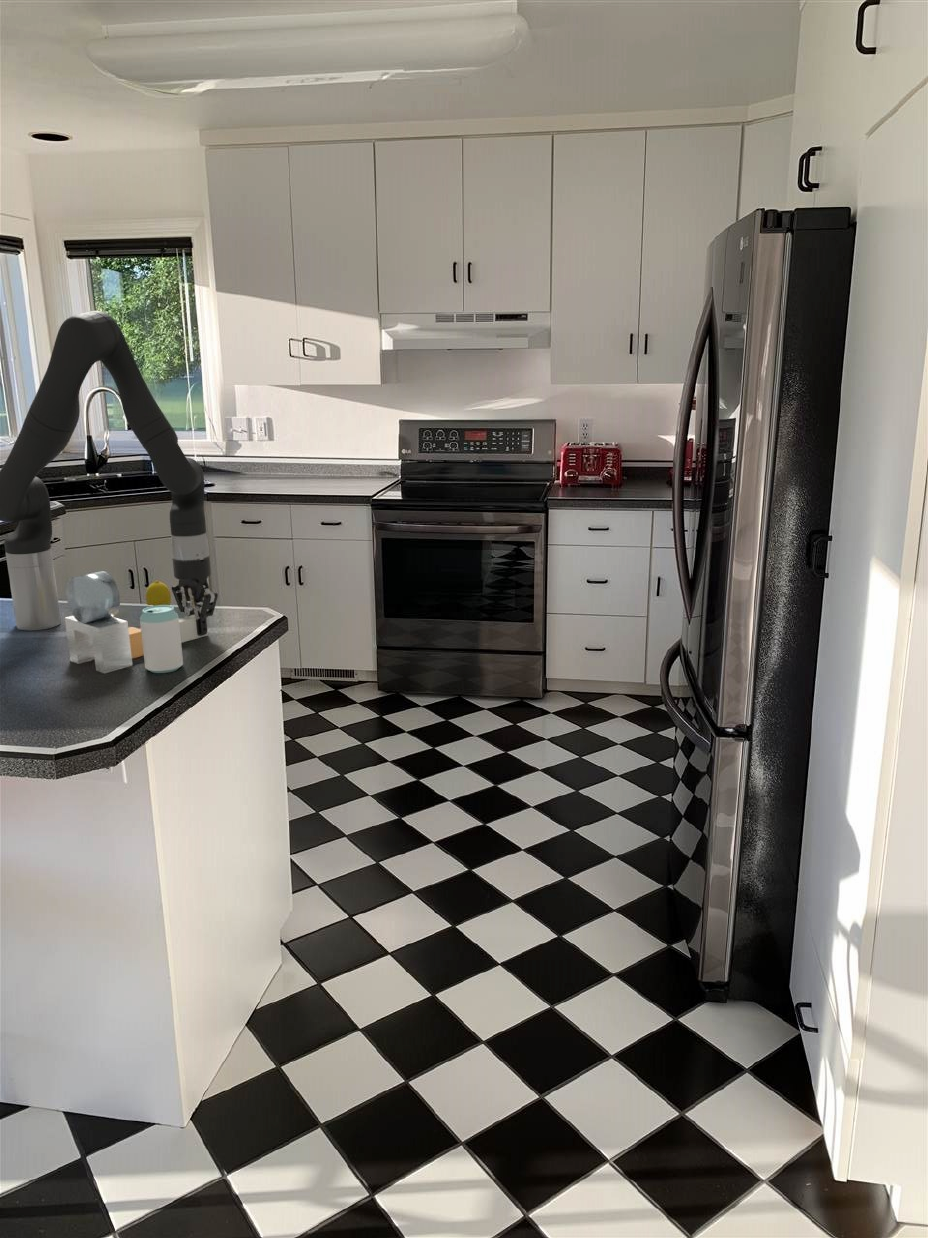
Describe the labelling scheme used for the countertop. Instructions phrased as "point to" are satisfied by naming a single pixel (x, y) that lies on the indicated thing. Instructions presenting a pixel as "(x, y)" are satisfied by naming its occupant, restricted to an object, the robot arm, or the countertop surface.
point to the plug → (186, 633)
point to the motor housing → (96, 623)
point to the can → (161, 639)
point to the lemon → (158, 594)
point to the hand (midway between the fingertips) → (198, 633)
